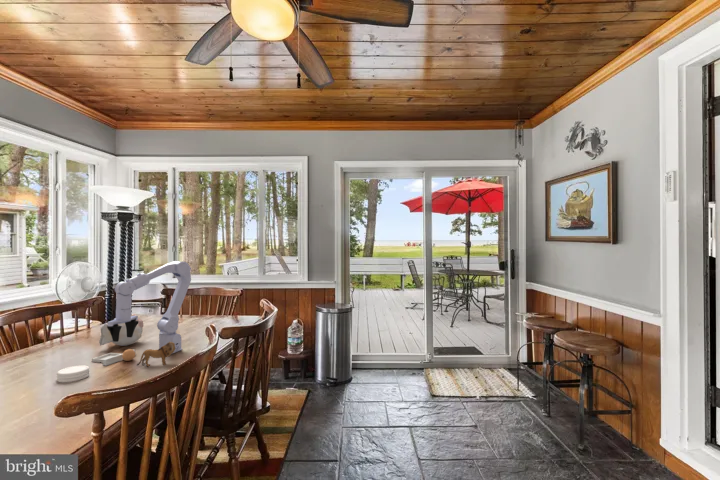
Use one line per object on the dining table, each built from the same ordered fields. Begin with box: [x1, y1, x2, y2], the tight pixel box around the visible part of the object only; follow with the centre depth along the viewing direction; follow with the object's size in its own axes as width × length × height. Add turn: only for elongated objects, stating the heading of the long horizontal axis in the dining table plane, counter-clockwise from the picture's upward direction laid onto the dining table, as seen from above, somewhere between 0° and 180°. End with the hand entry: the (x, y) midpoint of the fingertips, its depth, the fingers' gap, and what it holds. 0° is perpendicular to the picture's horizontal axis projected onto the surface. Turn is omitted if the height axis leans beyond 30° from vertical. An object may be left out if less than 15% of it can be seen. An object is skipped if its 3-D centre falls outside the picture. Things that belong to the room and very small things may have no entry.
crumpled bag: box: [98, 317, 144, 347], centre depth 186 cm, size 16×19×15 cm
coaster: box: [56, 365, 90, 383], centre depth 141 cm, size 10×10×4 cm
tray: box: [91, 352, 120, 364], centre depth 163 cm, size 9×9×1 cm
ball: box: [121, 348, 136, 362], centre depth 162 cm, size 5×5×5 cm
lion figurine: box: [136, 342, 175, 367], centre depth 157 cm, size 15×5×9 cm, turn 116°
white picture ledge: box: [102, 349, 137, 367], centre depth 162 cm, size 2×15×2 cm, turn 165°
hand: (122, 339), depth 161 cm, fingers open, 7 cm apart
